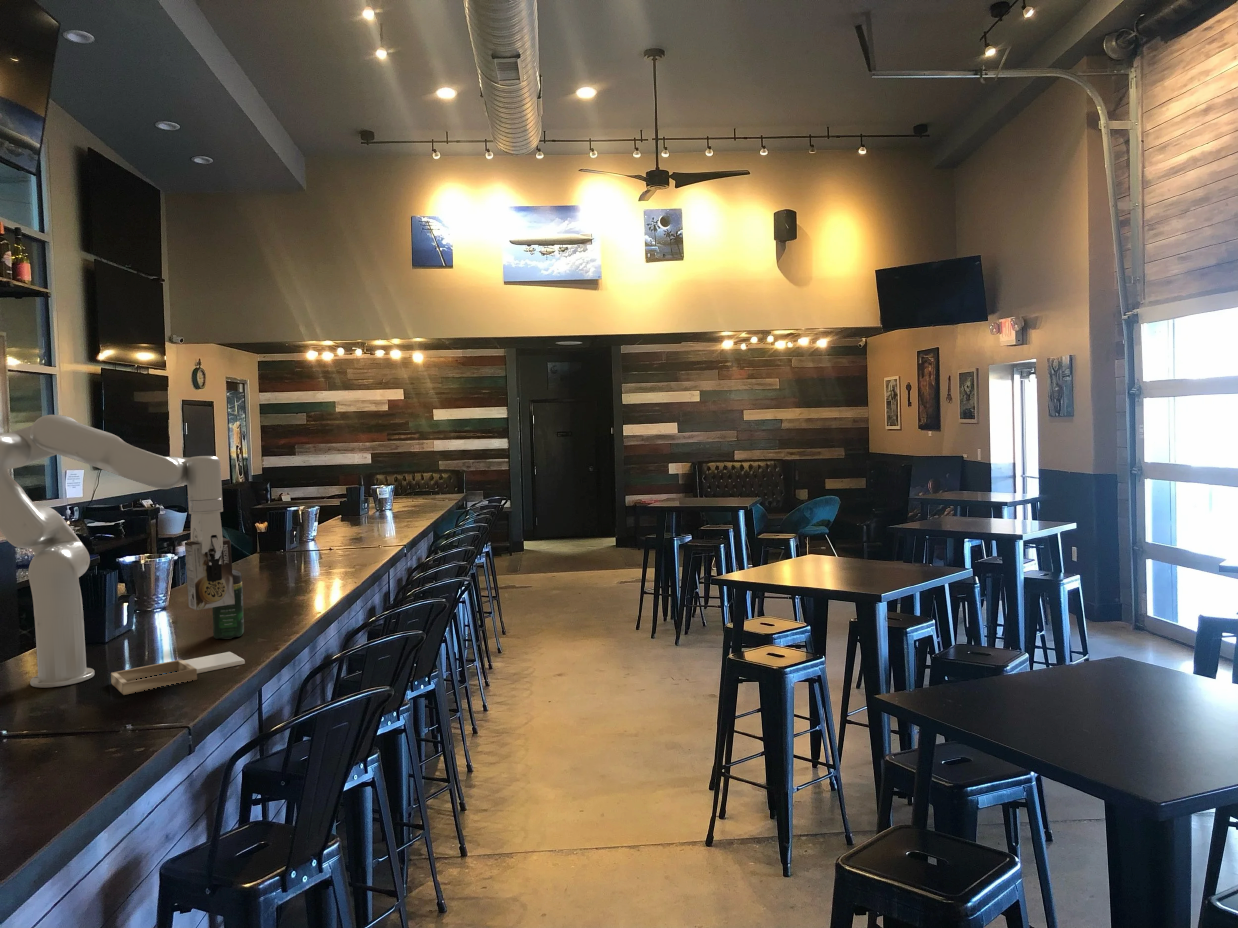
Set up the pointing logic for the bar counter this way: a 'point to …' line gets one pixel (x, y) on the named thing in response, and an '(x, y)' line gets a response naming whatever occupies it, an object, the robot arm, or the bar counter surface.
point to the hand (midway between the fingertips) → (209, 578)
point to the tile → (215, 662)
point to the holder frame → (125, 687)
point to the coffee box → (198, 586)
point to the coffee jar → (230, 613)
